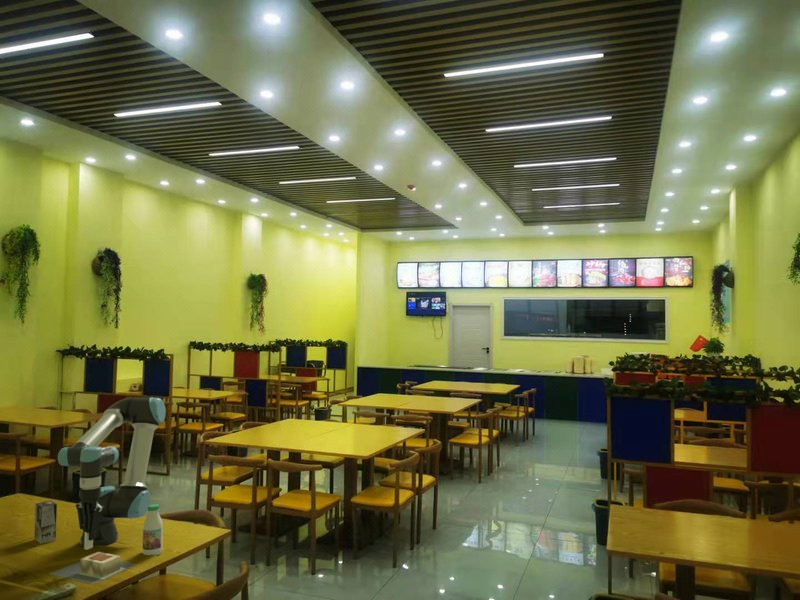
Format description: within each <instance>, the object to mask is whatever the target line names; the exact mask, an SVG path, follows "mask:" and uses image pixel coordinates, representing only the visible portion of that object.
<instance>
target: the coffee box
mask: <svg viewBox="0 0 800 600" xmlns="http://www.w3.org/2000/svg"><path fill="white" fill-rule="evenodd" d="M34 505H35V507H34V511H35V512H34V540H35V541H37V542H38V543H39V544H46V543H50V542H54V541H56V539H57V538H56V536H57V513H58V512H57V511H58V504H57V503H56V502H54V501H52V500H46V501H41V502H37V503H36V502H35V504H34Z"/></svg>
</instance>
